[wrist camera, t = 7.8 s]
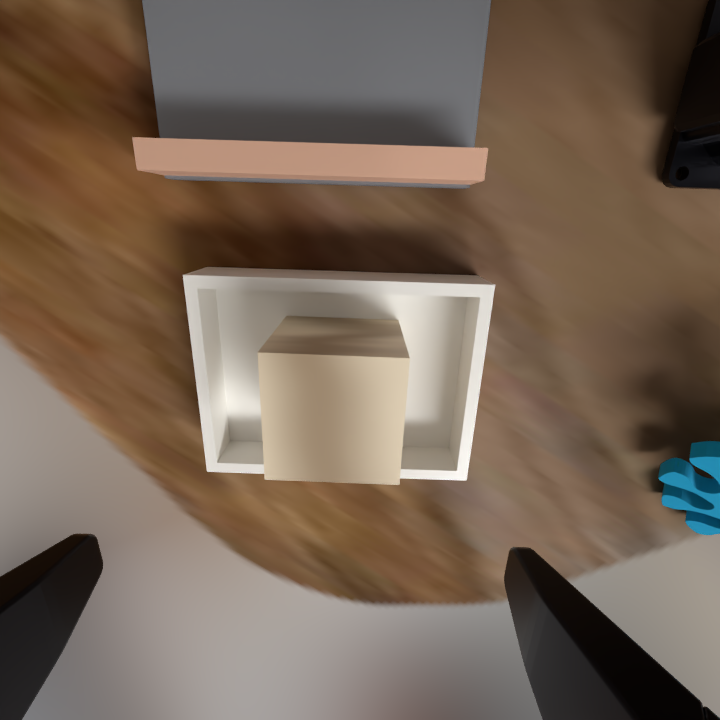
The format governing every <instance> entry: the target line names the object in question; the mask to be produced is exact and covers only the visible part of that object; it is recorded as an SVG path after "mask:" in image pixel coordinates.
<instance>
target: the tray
mask: <svg viewBox="0 0 720 720" xmlns="http://www.w3.org/2000/svg"><path fill="white" fill-rule="evenodd" d="M183 281H184V289H185V297H186V305H187V314H188V322H189V330H190V338H191V346H192V354H193V362H194V370H195V378H196V386H197V394H198V402H199V410H200V418H201V426H202V435H203V443H204V451H205V459H206V467H207V472H230V473H259V474H264V458H263V440H262V423H261V405H260V388H259V370H258V353H257V352H258V351H259V350H260V349H261V347H262V346H263V345H264V343H265V342H266V341H267V340H268V338H269V337H270V336H271V335H272V333H273V332H274V331H275V330H276V328H277V327H278V326H279V324H280V323H281V322H282V321H283V319H284V318H285V317H286V316H307V317H333V318H359V319H385V320H399V324H400V327H401V330H402V334H403V337H404V340H405V343H406V347H407V350H408V353H409V357H410V364H409V376H408V388H407V400H406V412H405V423H404V435H403V447H402V459H401V471H400V478H407V479H436V480H466V481H467V474H468V467H469V460H470V453H471V446H472V440H473V433H474V426H475V419H476V412H477V406H478V399H479V392H480V385H481V378H482V371H483V365H484V358H485V351H486V344H487V337H488V331H489V324H490V317H491V310H492V303H493V296H494V290H495V285H494V284H493V283H491V282H489V281H487V280H485V279H484V278H482V277H480V276H478V275H449V274H418V273H386V272H355V271H323V270H292V269H260V268H229V267H205V268H202V269H199V270H196V271H193V272H190V273H187V274H184V275H183Z"/></svg>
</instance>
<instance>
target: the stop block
mask: <svg viewBox="0 0 720 720" xmlns="http://www.w3.org/2000/svg"><path fill="white" fill-rule="evenodd" d="M257 353H258V370H259V388H260V405H261V423H262V440H263V458H264V475H265V480H288V481H314V482H339V483H365V484H390V485H399V483H400V471H401V459H402V447H403V435H404V423H405V412H406V400H407V388H408V376H409V364H410V357H409V353H408V350H407V347H406V343H405V340H404V337H403V334H402V330H401V327H400V324H399V320H385V319H359V318H333V317H307V316H286V317H285V318H284V319H283V321H282V322H281V323H280V324H279V326H278V327H277V328H276V330H275V331H274V332H273V333H272V335H271V336H270V337H269V338H268V340H267V341H266V342H265V343H264V345H263V346H262V347H261V349H260V350H259V351H258V352H257Z"/></svg>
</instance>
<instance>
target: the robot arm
mask: <svg viewBox="0 0 720 720" xmlns="http://www.w3.org/2000/svg"><path fill="white" fill-rule="evenodd" d="M674 127H675V128H674V132H673V136H672V139H671V143H670V147H669V151H668V154H667V158H666V162H665V166H664V169H663V173H662V181H663V184H664V185H665V186H666V187H669V188H689V189H720V0H709V1H708V4H707V8H706V12H705V15H704V19H703V23H702V27H701V30H700V34H699V38H698V42H697V45H696V47H695V48H694V50H693V53H692V57H691V60H690V64H689V68H688V72H687V75H686V79H685V83H684V87H683V91H682V94H681V98H680V102H679V106H678V109H677V113H676V117H675V121H674ZM679 168H680V169H681V176H680V178H679V179H678V180H677V178H676V172H677V170H678V169H679ZM102 569H103V560H102V556H101V552H100V548H99V544H98V540H97V538H96V537H95V535H93V534H73V535H71V536H69V537H68V538H66V539H64V540H62V541H60V542H59V543H57V544H55V545H54V546H52V547H50V548H49V549H47V550H45V551H43V552H42V553H40V554H38V555H37V556H35V557H33V558H31V559H30V560H28V561H26V562H24V563H23V564H21V565H19V566H18V567H16V568H14V569H13V570H11V571H9V572H7V573H6V574H4V575H3V576H1V577H0V720H22V718H23V717H24V715H25V714H26V712H27V710H28V709H29V707H30V705H31V704H32V702H33V700H34V699H35V697H36V695H37V694H38V692H39V690H40V689H41V687H42V685H43V684H44V682H45V681H46V679H47V677H48V676H49V674H50V672H51V670H52V669H53V667H54V665H55V664H56V662H57V660H58V659H59V657H60V655H61V653H62V652H63V650H64V648H65V646H66V644H67V642H68V640H69V638H70V636H71V634H72V632H73V630H74V628H75V626H76V624H77V622H78V620H79V618H80V616H81V614H82V612H83V610H84V608H85V606H86V604H87V602H88V600H89V598H90V596H91V594H92V591H93V590H94V587H95V586H96V584H97V582H98V579H99V577H100V575H101V573H102ZM504 583H505V589H506V593H507V597H508V601H509V605H510V609H511V613H512V617H513V621H514V626H515V630H516V634H517V638H518V642H519V646H520V650H521V654H522V658H523V662H524V666H525V669H526V672H527V675H528V678H529V681H530V684H531V687H532V690H533V693H534V696H535V698H536V702H537V705H538V707H539V710H540V713H541V716H542V719H543V720H720V718H719V717H718V716H717V715H715V714H714V713H713V712H712V711H711V710H710V709H709V708H708V707H703V705H702V703H701V701H700V700H699V699H697V698H696V697H695V696H694V695H693V694H692V693H691V692H690V691H689V690H688V689H686V688H685V687H684V686H683V685H682V684H681V683H680V682H679V681H678V680H677V679H675V678H674V677H673V676H672V675H671V674H670V673H669V672H668V671H666V670H665V669H664V668H663V667H662V666H661V665H660V664H659V663H658V662H657V661H656V660H654V659H653V658H652V657H651V656H650V655H649V654H648V653H646V652H645V651H644V650H643V649H642V648H641V647H640V646H639V645H638V644H637V643H636V642H634V641H633V640H632V639H631V638H630V637H629V636H628V635H627V634H626V633H624V632H623V631H622V630H621V629H620V628H619V627H618V626H617V625H616V624H615V623H613V622H612V621H611V620H610V619H609V618H608V617H607V616H606V615H604V614H603V613H602V612H601V611H600V610H599V609H598V608H597V607H596V606H595V605H594V604H592V603H591V602H590V601H589V600H588V599H587V598H586V597H585V596H584V595H582V594H581V593H580V592H579V591H578V590H577V589H576V588H575V587H574V586H573V585H571V584H570V583H569V582H568V581H567V580H566V579H565V578H564V577H563V576H561V575H560V574H559V573H558V572H557V571H556V570H555V569H554V568H553V567H551V566H550V565H549V564H548V563H547V562H546V561H545V560H544V559H543V558H542V557H540V556H539V555H538V554H537V553H536V552H535V551H534V550H532V549H531V548H527V547H513V548H511V549H510V551H509V555H508V560H507V565H506V570H505V575H504Z"/></svg>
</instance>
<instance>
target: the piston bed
mask: <svg viewBox="0 0 720 720" xmlns="http://www.w3.org/2000/svg"><path fill="white" fill-rule="evenodd" d="M142 3H143V11H144V18H145V26H146V34H147V42H148V50H149V57H150V65H151V73H152V81H153V88H154V96H155V104H156V112H157V120H158V127H159V135H160V138H140V137H132V140H133V146H134V153H135V160H136V166H137V170H140V171H145V172H150V173H155V174H161V175H165V178H167V179H173V180H200V181H232V182H265V183H297V184H330V185H362V186H395V187H427V188H459V189H466V188H469V187H470V185H471V184H474V183H478V182H481V181H484V178H485V170H486V162H487V154H488V148H474V145H475V136H476V128H477V119H478V110H479V101H480V93H481V84H482V75H483V67H484V58H485V49H486V40H487V32H488V23H489V14H490V5H491V0H142Z"/></svg>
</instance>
